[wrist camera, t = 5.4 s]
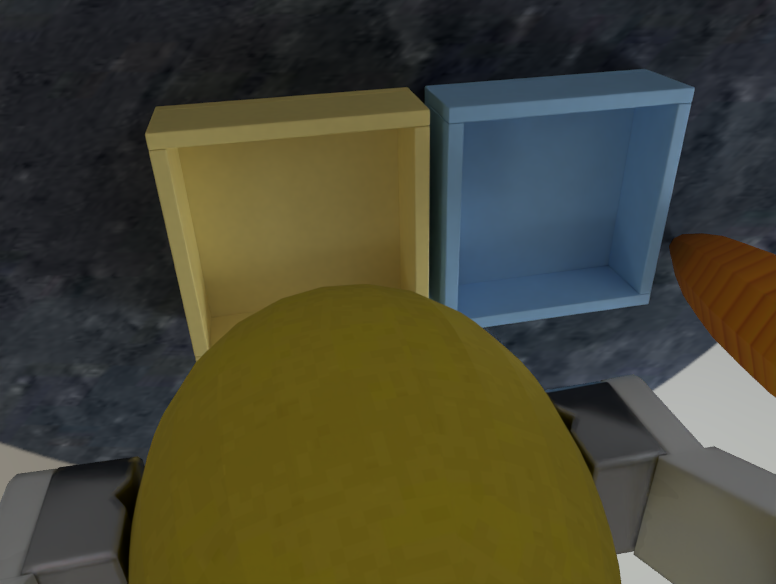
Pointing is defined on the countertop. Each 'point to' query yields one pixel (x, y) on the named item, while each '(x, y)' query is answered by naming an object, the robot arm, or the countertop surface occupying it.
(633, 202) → the blue bin
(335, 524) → the lemon
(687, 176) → the countertop surface
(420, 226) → the yellow bin
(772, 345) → the carrot
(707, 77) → the countertop surface
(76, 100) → the countertop surface
